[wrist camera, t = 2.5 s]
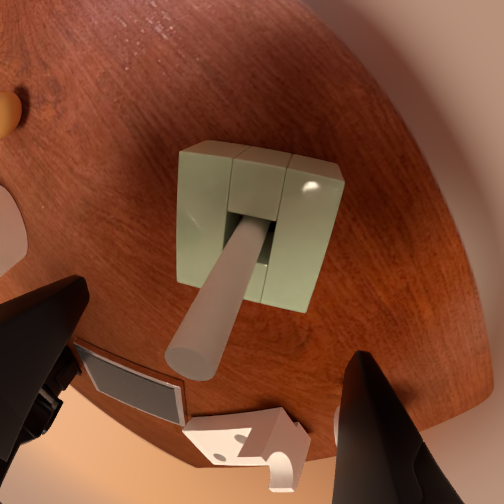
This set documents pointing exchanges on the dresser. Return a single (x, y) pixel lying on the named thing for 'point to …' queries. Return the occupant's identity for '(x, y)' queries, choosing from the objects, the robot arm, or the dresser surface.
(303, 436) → the bracket
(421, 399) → the dresser surface
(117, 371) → the tablet
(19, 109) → the figurine
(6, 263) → the cylinder with rectangular tab
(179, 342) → the stylus
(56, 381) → the robot arm
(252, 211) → the pen stand
